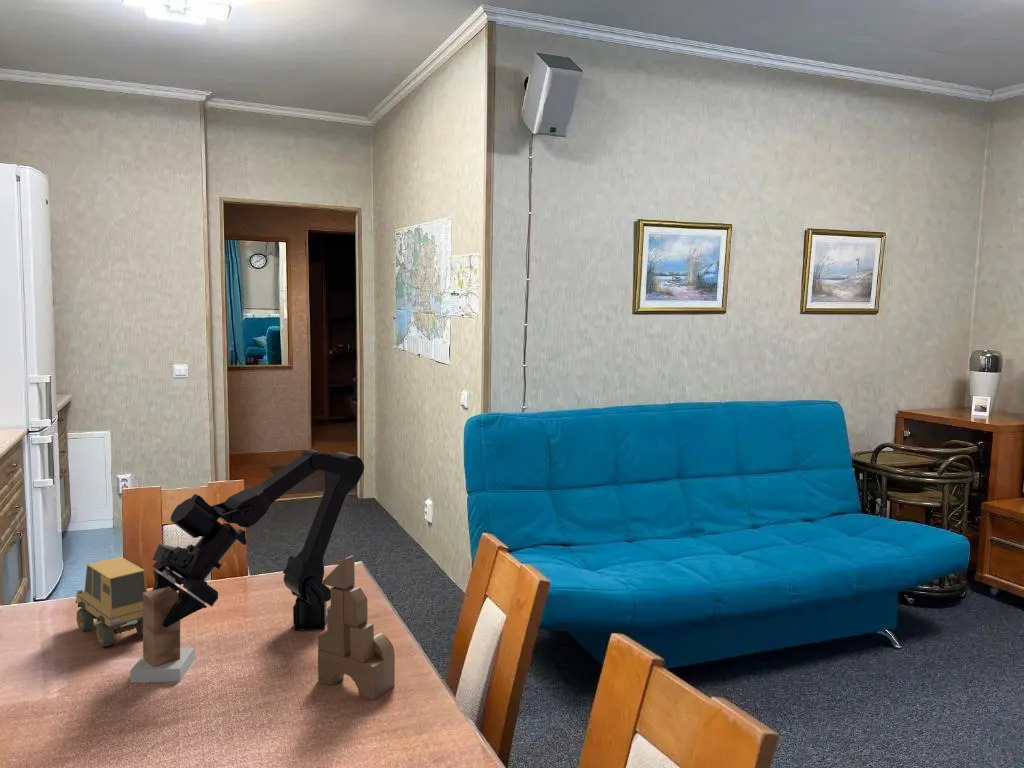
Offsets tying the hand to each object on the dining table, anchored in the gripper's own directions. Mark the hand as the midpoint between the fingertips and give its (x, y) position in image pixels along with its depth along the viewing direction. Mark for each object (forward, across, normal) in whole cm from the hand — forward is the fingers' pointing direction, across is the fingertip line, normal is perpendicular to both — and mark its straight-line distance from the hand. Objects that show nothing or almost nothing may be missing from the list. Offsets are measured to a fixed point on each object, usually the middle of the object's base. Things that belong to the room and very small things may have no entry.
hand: (154, 618), depth 150 cm
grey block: (+7, 0, +9) cm, 11 cm away
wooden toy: (-10, +29, +26) cm, 40 cm away
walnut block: (+5, 0, +7) cm, 8 cm away
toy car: (+8, -25, +8) cm, 27 cm away
